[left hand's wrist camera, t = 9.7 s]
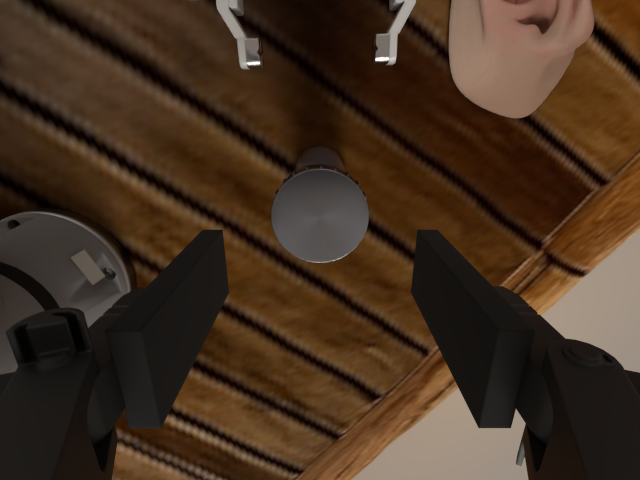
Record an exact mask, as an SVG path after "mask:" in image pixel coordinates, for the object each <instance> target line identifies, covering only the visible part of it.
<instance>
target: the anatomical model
mask: <svg viewBox="0 0 640 480" xmlns="http://www.w3.org/2000/svg"><path fill="white" fill-rule="evenodd" d="M593 27H594V15H593V9H592V4H591V0H451V9H450V21H449V61H450V69H451V73H452V77H453V80H454V82H455V84H456V86H457V87H458V89H459V90H460V91H461V92H462V94H463V95H464V96H466V97H467V98H468V99H469V100H471V101H472V102H473V103H475V104H477V105H478V106H480V107H482V108H484V109H486V110H488V111H491V112H493V113H496V114H499V115H502V116H505V117H510V118H522V117H525V116H528V115H529V114H531V113H532V112H533V111H535V110H536V109H537V108H538V107H539V106H540V105H541V103H542V102H543V101H544V100H545V99H546V97H547V96H548V95H549V94H550V92H551V91H552V90H553V88H554V87H555V86H556V85H557V83H558V82H559V80H560V79H561V77H562V75H563V74H564V72H565V70H566V69H567V67H568V65H569V64H570V62H571V60H572V58H573V55H574V52H575V49H576V48H577V47H579V46H580V45H581V44H583V43H584V42H585V41H586V40H587V39H588V38H589V36H590V35H591V33H592V31H593Z"/></svg>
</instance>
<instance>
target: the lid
mask: <svg viewBox="0 0 640 480" xmlns="http://www.w3.org/2000/svg"><path fill="white" fill-rule="evenodd" d="M359 186H360V185H359V183H358V181H357V180H356V181H355V180H354V179H353V178H352V177H351V176H350V175H349V173H348V172H347V171H346V172H345V171H343V170H341V169H339V168H337V167H336V166H335V165H334V166H330V165H322V163H320V164H318V165H310V166H309V165H306V167H304V168H301V169H299V170H297V171H296V170H294V172H293V173H292V174H291V175H290V176H289V177H288V178H287V179H284V180H283V182H282V185H281V187H280V189H279V190H277V191H276V193H275V199H274V201H273V204H272V206H271V209H272V211H271V222H272V226H273V230H274V233H275V235H276V237H277V239H278V240H279V242H280V243H281V244H282V246H283V247H284V248H285V249H286V250H287V251H289V252H290V253H291V254H293V255H294V256H296V257H298V258H300V259H303V260H306V261H310V262H319V263H322V262H330V261H334V260H337V259H340V258H342V257H344V256H346V255H347V254H349V253H350V252H351V251H353V250H354V249H355V248H356V247H357V246H358V245H359V243H360V242H361V240H362V239H363V237H364V235H365V233H366V230H367V226H368V220H369V208H368V205H367V202H366V199H365V198H366V195H365V194H364V192H362V191H361V189H360V187H359Z"/></svg>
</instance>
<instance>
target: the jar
mask: <svg viewBox="0 0 640 480" xmlns="http://www.w3.org/2000/svg"><path fill="white" fill-rule="evenodd" d="M320 163H322V165H330V166H334V165H335V166H336V167H337V168H339V169H341V170H343V171H345V172H346V168H345V166H344V164H343V161H342V159H341V158H340V156H339V155H338V154H337V153H336V152H335V151H333V150H332V149H330V148H327V147H321V146H319V147H313V148H310V149H308V150H307V151H305V152H304V153H303V154H302V155H301V156H300V158H299V159H298V162H297V164H296V166H295V168H294V170H296V171H297V170H299V169H301V168H304V167H306V165H309V166H310V165H318V164H320ZM293 172H294V171H293Z"/></svg>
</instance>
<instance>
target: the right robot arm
mask: <svg viewBox="0 0 640 480" xmlns="http://www.w3.org/2000/svg"><path fill="white" fill-rule="evenodd" d="M415 3H416V0H389V9H390V11H396V10H397V13H396V15H395V17H394V19H393V21H392V23H391V25H390V26H389V28H388V30H387V32H386V34H376V35H375V37H374V38H373V42H372V49H373V51H374V54H373V56H372V65H393V64H394V63H395V62H396V56H397V35H398V34H399V33H400V31H401V29H402V27H403V25H404V23H405V22H406V20H407V18H408V16H409V14H410V12H411V11H412V9H413V7H414V5H415ZM216 4H217V10H218V11H219V13H220V14H221V16H222V18H223V19H224V21H225V23H226V24H227V26H228V27H229V29H230V31H231V32H232V34H233V36H234V37H235V38H236V39H237V44H238V54H239V63H240V67H241V68H242V69H264V60H263V58H262V57H261V55H262V53H263V47H262V42H261V41H260V39H259V38H248V36H247V34H246V33H245V31H244V29H243V28H242V26H241V24H240V23H239V21H238V19H237V17H236V15H237V16H243V15H244V8H243V0H216Z"/></svg>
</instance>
